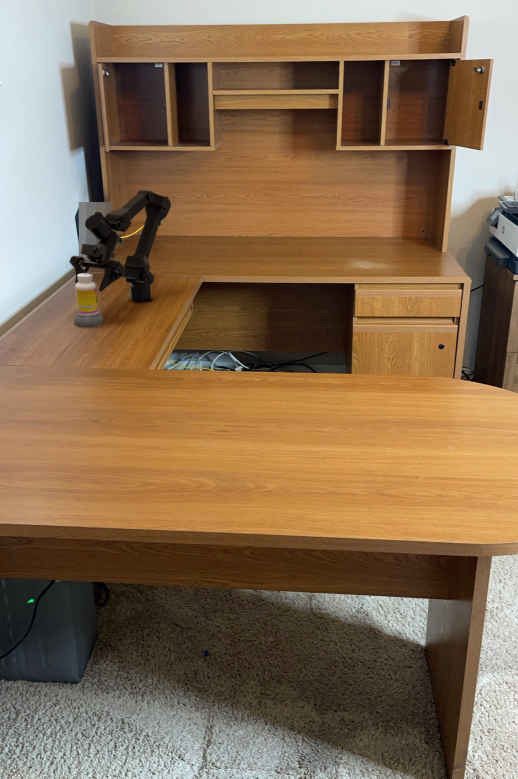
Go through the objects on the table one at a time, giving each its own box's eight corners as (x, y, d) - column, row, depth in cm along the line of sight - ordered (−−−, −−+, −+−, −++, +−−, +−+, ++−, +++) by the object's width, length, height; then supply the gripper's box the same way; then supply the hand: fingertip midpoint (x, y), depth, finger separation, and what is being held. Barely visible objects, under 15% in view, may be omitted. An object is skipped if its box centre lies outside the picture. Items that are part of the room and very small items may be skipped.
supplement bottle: (100, 316, 226) (97, 276, 221) (79, 318, 224) (75, 278, 218) (97, 310, 231) (93, 271, 226) (76, 312, 229) (72, 273, 224)
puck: (99, 317, 234) (98, 308, 233) (106, 325, 227) (105, 316, 225) (72, 320, 231) (71, 312, 229) (77, 329, 223) (76, 319, 222)
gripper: (69, 230, 226) (50, 272, 222) (117, 235, 219) (99, 279, 215) (87, 249, 236) (69, 290, 232) (134, 255, 229) (117, 297, 224)
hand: (88, 289), depth 225 cm, fingers open, 9 cm apart
